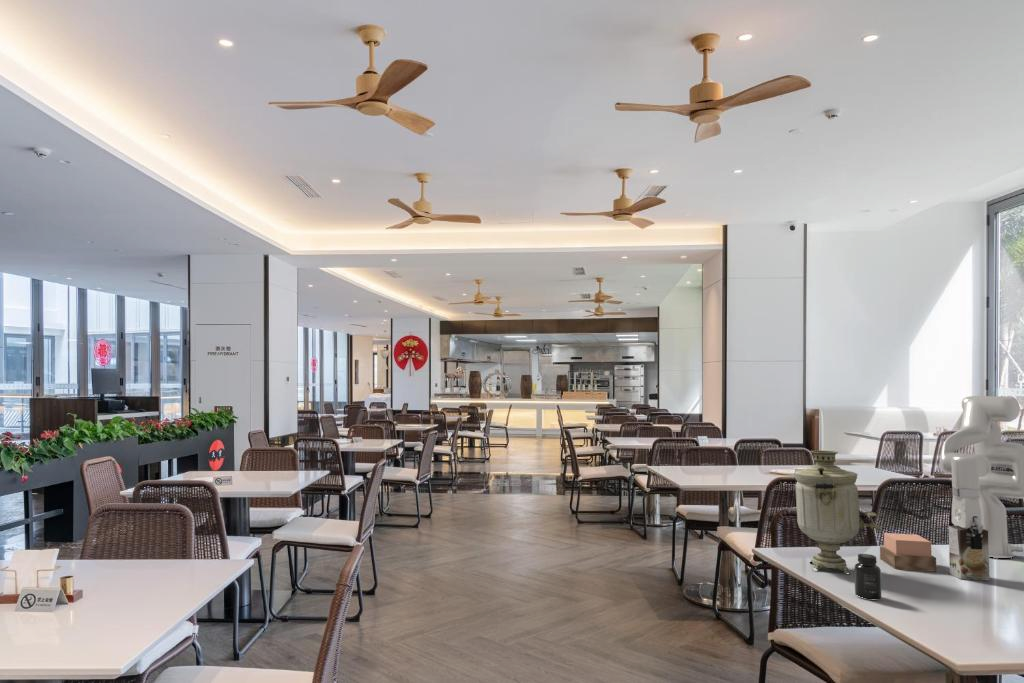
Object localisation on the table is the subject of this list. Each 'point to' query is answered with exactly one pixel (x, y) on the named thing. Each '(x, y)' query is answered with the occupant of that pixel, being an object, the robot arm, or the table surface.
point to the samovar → (828, 508)
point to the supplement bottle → (867, 577)
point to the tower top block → (907, 544)
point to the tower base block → (907, 561)
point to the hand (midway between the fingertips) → (968, 545)
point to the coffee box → (967, 555)
